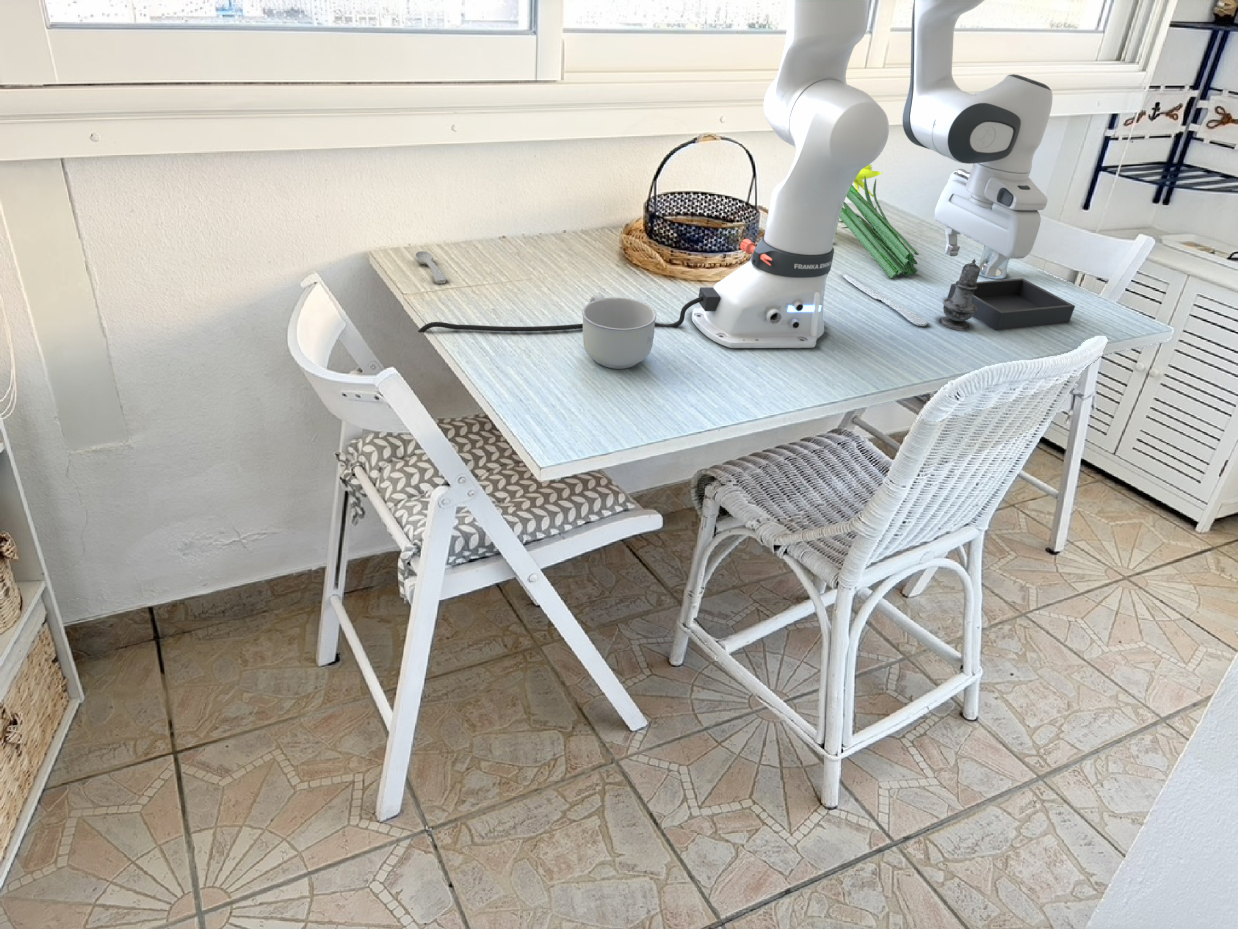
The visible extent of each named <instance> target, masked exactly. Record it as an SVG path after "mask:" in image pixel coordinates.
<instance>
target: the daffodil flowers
mask: <svg viewBox="0 0 1238 929" xmlns="http://www.w3.org/2000/svg"><path fill="white" fill-rule="evenodd" d="M882 173H883V172H882V171H879V170H873V167H872V164H869V165H868V166H866V167H864V168H863V169H862V170H861V171H860V172H859V174H858V175H857V177H856V178H855V180H854V182H853V184H854V185H853V184H852V185H851V187H850V189H849V191H848V193H847V195H846V198H847V199H848V200H849V201H850V202H851V203H852V204H853V205H854V206H855V207H856V209H857V210H858V212H859V213H860V214H861V215H859V214H858V213H855V211H854V210H853V209H852V208H851V207H850V206H849V204H847V203H846V202H845V201H844V203H843V206H842V209H841V213H840V217H839V221H838V223H840V224H841V223H842V224H844V225H845V226H844V227H842V229H848V230H849V231H850V232H851V233H852V235H854V237H855V238H856V239H857V240H858V241H859V242H860V243H861V245H862V246H863V247H864V248H865V250H866V251H867V252H868V253H869V254H870V255H871V257H872V258H873V259H874V261H875V262H877V264H878V265H879V266H880V267H881V268H882V270H883V271H884V272H885V273H886V275H887V276H888V277H889V278H890V279H891V280H892V279H894V278H895V276H900V275H901V274H903V275H904V277H908V276H910V275H912V276H913V275H915V274H916V273H917V272H918V269H917V268H916V267H915V265H918V261H917V259H916V258H915V256H919V255H920V254H919V252H918V251H917V250H916V249H915V248H914V246H912V245H911V244H910V242H908V240H907V239H905V237H904V236H903V235H901V233H900V232H899V231H898V230H896V228H894V227H893V226H892V225H891V224H890V221H889V220H888V218H887V216H886V215H885V213H884V212H883V209H882V208H881V205H880V203H879V201H878V199H877V193H876V192H877V190H876V189H877V178H875V177H878V176H880V175H882ZM872 178H875V180H874V182H873V187H872V192H871V191H870V190H869V188H868V183H867V180H868V179H872ZM860 188H861V189H862V190H864V196H865V198H864V196H862V195H861V193H860ZM871 197H872V198H873V200H874V202H875V204H876V206H874V203H873V202H872V198H871ZM877 208H878V209H877ZM878 210H879V211H878ZM914 255H915V256H914Z"/></svg>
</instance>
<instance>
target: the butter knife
mask: <svg viewBox="0 0 1238 929" xmlns="http://www.w3.org/2000/svg"><path fill="white" fill-rule="evenodd" d="M842 277H843V278H844V279H845V280H846V281H847V282H849V283H850V284H852V285H853V286H855V288H857V289H859V290H860V291H862V292H864V293H865V294H866V295H868V296H870V297H871V298H873V299H875V300H879V301H881V302H882V303H884V304H885V305H887V306H889V307H890V308H891V309H893V310H895V311H896V312H897V313H899V315H901V316H903V317H904V318H905V319H906V320H907V321H909V322H910V323H911V324H913V325H915V326H917V327H925V326H927V325H928V324H929V323H928V321H927V320H926V319H923V317H920V316H918V315H916V314H914V313H913V312H910V311H909V310H907V309H906V308H903V307H902V306H900V305H898V304H897V303H895V302H893V301H892V300H891V299H889V298H886V297H884V296H882V294H879V293H878V292H876V291H874V290H873V289H872V288H870V287H869V286H867V285H865V284H864V283H862V282H860V281H858V280H857V279H856V278H854V277H852V276H851V275H849V274H847V273H844V274H842Z"/></svg>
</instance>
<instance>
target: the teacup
mask: <svg viewBox="0 0 1238 929" xmlns="http://www.w3.org/2000/svg"><path fill="white" fill-rule="evenodd" d="M581 315H582V324H583V328H582V342H583V347H584V350H585V352H586V354H587V356H589V357H590V359H592V360H594V361H595V362H596V363H597V364H598V365H601V366H603V367H605V368H609V369H614V370H615V369H616V370H621V369H622V370H623V369H628V368H632V367H634V366H636V365H638V364H639V363H641V362H643V361H644V360H646V358H647V357H648V356H649V355H650V354H651V350H652V348H653V344H654V337H655V327H656V326H655V323H656V320H657V313H656V310H655V309H654V308H653V307H652V306H651V305H650V304H648V303H646V302H644V301H642V300H638V299H634V298H629V297H618V296H615V297H605V296H604V295H603V294H601V293H596V294H593V295H592V296H591V297H590V299H589V303H587V304H586V305H584V307H583V308H582V312H581Z"/></svg>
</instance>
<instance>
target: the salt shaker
mask: <svg viewBox="0 0 1238 929" xmlns="http://www.w3.org/2000/svg"><path fill="white" fill-rule="evenodd" d="M976 262H977V260H976V259H975V258H974V259H973V260H971V262H969V263H966V264H964V265H963V266H962V269H961V273H960V275H959V278H958V280H957V281H955V284H956V285H957V287H956V290H955V293H954V295H953V297H952V298H950V299H947V298H946V299H944V300H942V304H943V307H942V308H943V313H944V315H945V316H944V317H943V316H942V317H941V318H939V319H938V322H939V324H940V325H941V326H943V327H945V328H946V329H950V330H955V331H968V330H969V329H970V327H971V326H970V324H969V323H968V322H967V321H968V320H970V319H971V318H972V317H973V315H974V312H976V311H977V307H976V306H975V305H974V304H972V296H973V293H974V290H975V289H976V288H977V285H976V282H978V279H979V276H980V275H979V273H980V268H979V266H977V265H978V264H977V263H976Z"/></svg>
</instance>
